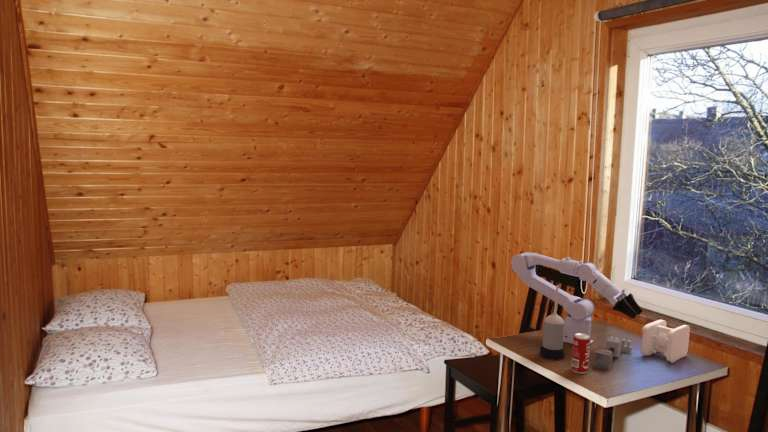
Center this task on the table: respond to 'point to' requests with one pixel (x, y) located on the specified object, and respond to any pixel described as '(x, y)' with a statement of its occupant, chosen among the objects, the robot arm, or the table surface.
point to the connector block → (603, 359)
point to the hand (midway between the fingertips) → (638, 314)
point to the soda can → (580, 353)
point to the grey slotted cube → (614, 346)
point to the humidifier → (553, 335)
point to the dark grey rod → (609, 350)
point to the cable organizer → (665, 340)
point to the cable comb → (625, 346)
